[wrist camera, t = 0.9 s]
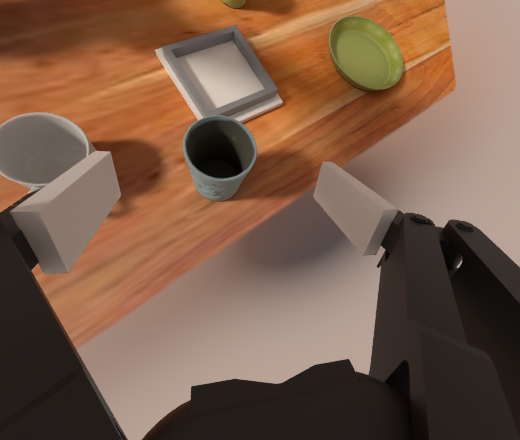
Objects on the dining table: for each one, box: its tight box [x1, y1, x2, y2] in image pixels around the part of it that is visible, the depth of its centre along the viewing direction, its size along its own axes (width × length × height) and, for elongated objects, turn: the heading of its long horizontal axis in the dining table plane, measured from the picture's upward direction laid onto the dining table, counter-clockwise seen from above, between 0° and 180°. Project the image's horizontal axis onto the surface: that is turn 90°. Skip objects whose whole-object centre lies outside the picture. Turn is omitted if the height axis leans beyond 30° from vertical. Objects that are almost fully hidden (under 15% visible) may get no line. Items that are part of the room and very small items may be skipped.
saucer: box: [329, 16, 403, 91], centre depth 56 cm, size 21×21×3 cm
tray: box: [155, 25, 283, 123], centre depth 45 cm, size 20×18×3 cm
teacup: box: [0, 112, 96, 194], centre depth 33 cm, size 14×11×8 cm
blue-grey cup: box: [183, 115, 257, 201], centre depth 37 cm, size 10×10×12 cm
